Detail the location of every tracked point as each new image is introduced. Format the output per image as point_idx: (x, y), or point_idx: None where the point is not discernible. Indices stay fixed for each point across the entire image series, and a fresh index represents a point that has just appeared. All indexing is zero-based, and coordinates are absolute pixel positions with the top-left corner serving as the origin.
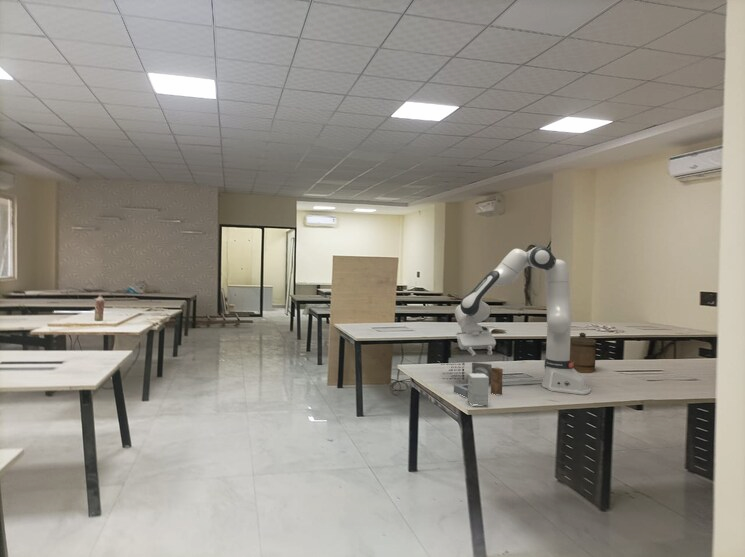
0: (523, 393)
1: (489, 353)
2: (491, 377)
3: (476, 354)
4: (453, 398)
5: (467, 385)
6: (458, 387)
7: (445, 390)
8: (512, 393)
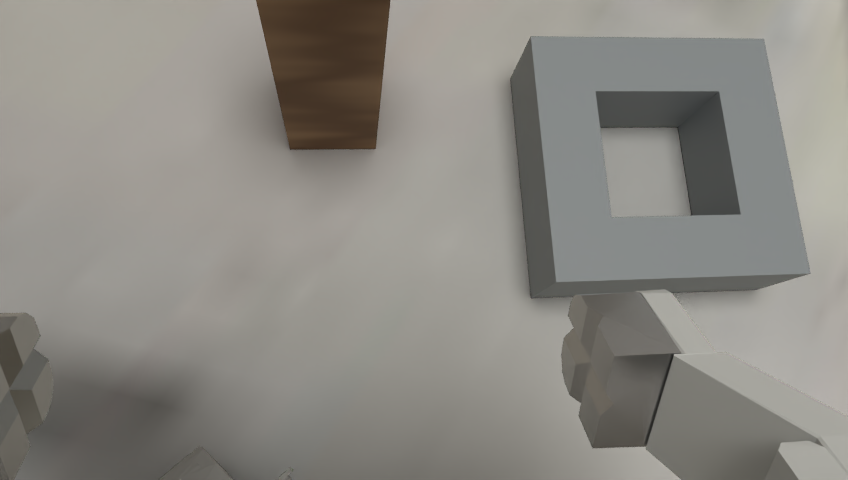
0: (21, 32)
1: (29, 346)
2: (384, 56)
3: (574, 297)
4: (835, 106)
5: (652, 217)
6: (787, 181)
7: (816, 384)
8: (145, 69)
